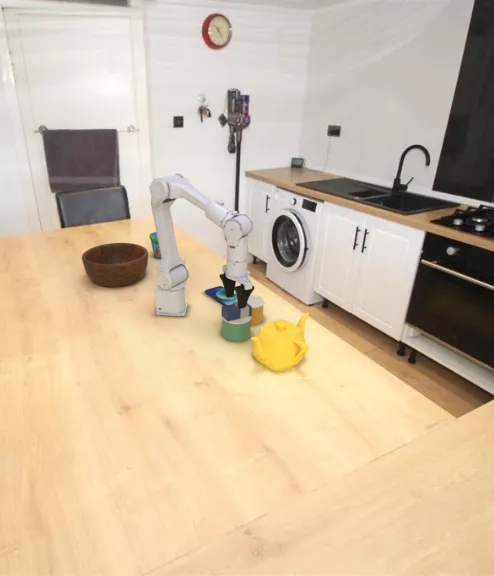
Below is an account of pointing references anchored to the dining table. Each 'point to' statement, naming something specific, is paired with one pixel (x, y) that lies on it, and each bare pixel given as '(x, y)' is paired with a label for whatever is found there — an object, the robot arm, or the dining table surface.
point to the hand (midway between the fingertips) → (235, 302)
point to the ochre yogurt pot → (256, 309)
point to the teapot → (280, 344)
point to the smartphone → (221, 295)
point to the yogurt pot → (236, 329)
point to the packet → (235, 312)
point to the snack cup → (155, 244)
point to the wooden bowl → (115, 264)
